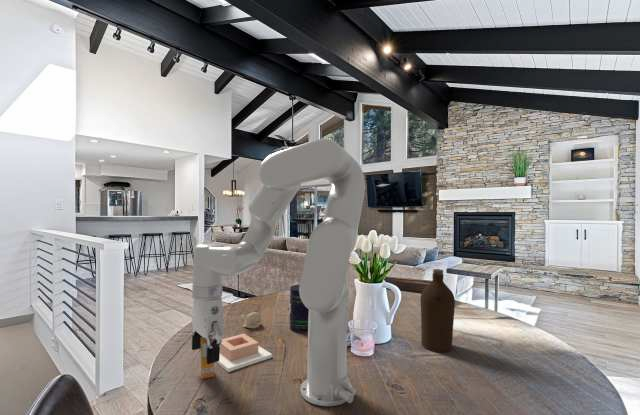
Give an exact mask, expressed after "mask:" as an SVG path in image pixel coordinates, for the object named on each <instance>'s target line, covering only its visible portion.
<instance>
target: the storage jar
mask: <svg viewBox="0 0 640 415" xmlns="http://www.w3.org/2000/svg"><path fill="white" fill-rule="evenodd" d="M299 286H300V284H294V285H291V286H290V288H289V290H290V291H289V304H290V312H289V330H290V331H291V332H293V333H297V334H308V317H309V309H308V308H307V307H306V306H305V305H304V304H303V302H302V300H301V298H300V293H299Z"/></svg>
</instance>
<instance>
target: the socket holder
mask: <svg viewBox="0 0 640 415" xmlns="http://www.w3.org/2000/svg"><path fill="white" fill-rule="evenodd" d="M271 358H273V353H271V352H269V351H268V350H266V349H264V348H262V347H261V346H260V344H259V341H257V340H255V339H254V338H252V337H250V336H248V335H247V334H245V333H241V334H237V335H233V336H230V337H227V338H222V342H221V346H220V358H219V361H217V362H215V363H216V364H217V365H219V367H221V368H222V369H223V370H225V371H226V372H227V373H230V372H233V371H235V370H239V369H242V368H245V367H247V366H251V365H254V364H256V363H260V362H263V361H265V360H268V359H271Z"/></svg>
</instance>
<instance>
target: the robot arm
mask: <svg viewBox="0 0 640 415" xmlns="http://www.w3.org/2000/svg"><path fill="white" fill-rule="evenodd" d="M258 171H259V172H258V175H259V179H260V181H261V185H260V186H259V187H258V190H257V192H256V193H255V195H254V196H253V197H252V200H251V201H250V202H249V204H248V212H249V214H250V224H249V227H248V229H247V231H246V232H245V234H244V236H243V238H241V240H240V242H239V243H236V244H232V245H229V246H223V245H222V244H220V243H212V242H211V243H210V242H209V243H205V242H204V243H199V244H197V245H196V246H195V247H194V249H193V259H192V261H193V266H192V289H191V290H192V292H191V293H192V294H191V298H192V299H193V303H192V312H191V313H192V314H191V327H192V330H191V334H192V337H191V349H192V351H196V350H201V337H204V338H206V339H207V342H208V346H209V348H207V364H211V363H214V364H215V363H216V362H217V361H219V358H220V346H221V342H222V339H223V337H224V307H223V306H224V305H223V298H222V296H223V281H224V280H223V279H224V276H225V277H235V276H238V275H240V274H242V273H244V272H246V271H249V270H251V269H253V268H254V267H255V266H256V265H257V264H258V263H259V261H260V260H261V259H262V258H263V257H262V256H263V255H264V254H265V252H266V251H267V249H268V248H269V246H270V244H271V242H272V240H273V238H274V235H275V232H276V230H277V226H278V224H279V221H280V220H281V219H282V216H283V215H284V214H285V211H286V210H287V209H288V207H289V205H290V204H291V202H292V201H293V199H294V197H295V196H296V194H297V193H298V191H299V189H300V188H301V186H302V184H306V183H309V182H313V181H316V180H320V179H325V180H328V181H329V184H330V188H329V189H330V190H329V194H328V195H327V196H328V197H327V199H326V200H327V201H326V207H325V211H324V216H323V219H322V222H320V223H319V224H316V226H315V227H314V228H313V230H312V232H311V233H310V235H309V238H308V241H307V246H306V250H305V256H304V260H303V265H302V269H301V276H300V279H299V285H300V286H299V293H300V298H301V300H302V302H303V304H304V305H305V306H306V307H307V308H308V309H309V317H308V333H307V362H306V363H307V366H306V367H307V369H306V370H307V372H306V379H305V380H303V381H302V383H301V384H300V394H301V396H302V398H303V399H304V400H306V401H307V402H309V403H310V404H312V405H316V406H319V407H336V406H340V405H342V404H344V403H348V404H352V402H354V396H355V395H356V394H357V389H356V388H354V387H353V386H352V384H351V382H350V377H349V376H347V363H348V362H347V360H348V358H347V353H348V352H347V351H348V347H347V346H348V321H349V320H348V318H349V316H348V312H349V298H350V277H349V275H348V267H349V263H350V258H351V254H352V252H353V251H354V249H355V247H356V245H357V244H356V243H357V238H358V231H359V226H360V221H361V220H360V219H361V215H362V209H363V204H364V198H365V192H366V180H365V175H364V171H363V170H362V167H361V166H360V164H359V163H358V162H357V160H356V159H355V158H354V157H353V156H352V155H351V154H349V152H348V151H346V150H345V149H344V148H343V147H342V146H341V145H340V144H339V143H338V142H337V141H335V140H332V139H330V138H318V139H313V140H311V141H307V142H305V143H301V144H297V145H295V146H291V147H289V148H288V147H287V148H285V149H282V150H279V151H276V152H274V153H270V154H269V155H268V156H266V157H265V158H264V160H262V162H261V164H260V165H259V170H258ZM211 338H213V342H211ZM214 338H215V339H214Z"/></svg>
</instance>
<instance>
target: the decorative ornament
mask: <svg viewBox="0 0 640 415" xmlns="http://www.w3.org/2000/svg"><path fill="white" fill-rule="evenodd" d="M241 318H243V319H244V322H243V323H244V324H243V325H242V327H243V328H248V329H256V328H259V327H260V326H261V325H262V322H261V321H262V320H261V319H262V318H261V314H260V313H259V312H256V311H254V312H250V313H249V314H247V315H246V314H241Z"/></svg>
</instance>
